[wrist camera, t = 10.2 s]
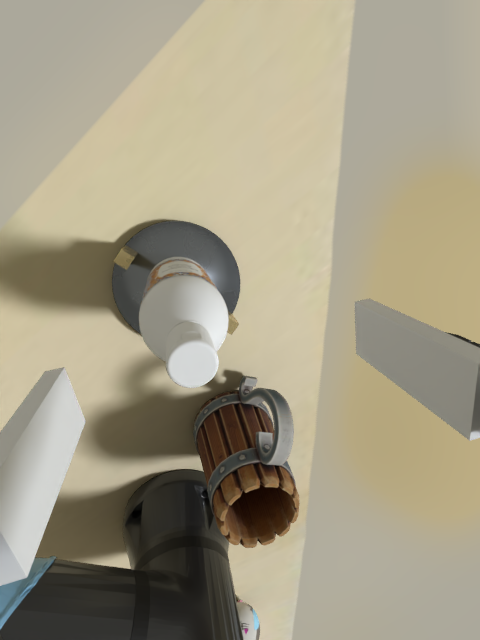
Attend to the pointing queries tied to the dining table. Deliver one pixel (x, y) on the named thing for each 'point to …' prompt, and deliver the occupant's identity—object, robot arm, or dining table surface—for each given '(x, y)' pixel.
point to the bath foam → (183, 320)
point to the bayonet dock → (165, 244)
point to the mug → (248, 463)
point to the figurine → (248, 621)
